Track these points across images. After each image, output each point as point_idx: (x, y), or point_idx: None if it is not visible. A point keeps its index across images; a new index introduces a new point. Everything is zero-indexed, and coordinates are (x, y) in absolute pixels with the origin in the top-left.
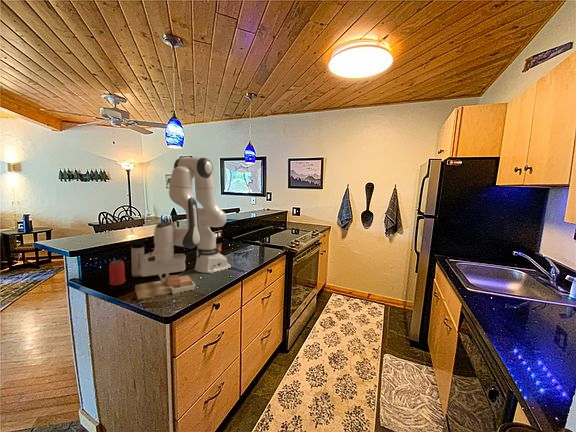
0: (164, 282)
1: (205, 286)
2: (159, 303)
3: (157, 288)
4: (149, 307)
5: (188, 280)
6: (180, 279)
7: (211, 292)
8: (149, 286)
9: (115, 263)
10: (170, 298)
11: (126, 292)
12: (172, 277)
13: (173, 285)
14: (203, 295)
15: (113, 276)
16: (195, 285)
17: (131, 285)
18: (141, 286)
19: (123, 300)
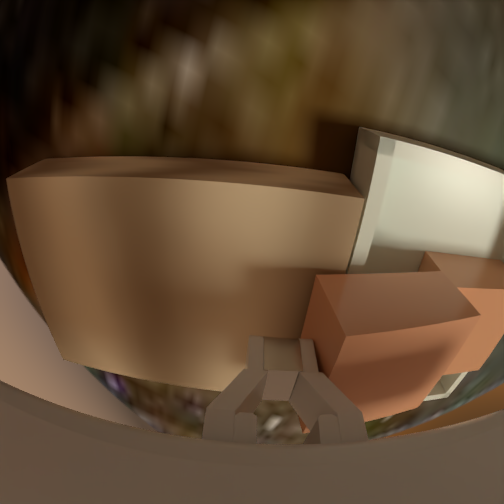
0: (307, 279)
1: (491, 353)
2: (197, 413)
3: (196, 370)
4: (151, 414)
5: (469, 361)
6: (413, 404)
7: (445, 411)
8: (128, 295)
9: None
10: (265, 403)
11: (2, 159)
12: (382, 388)
13: (387, 257)
14: (404, 423)
15: None
16: (445, 394)
17: (38, 7)
18: (57, 249)
19: (16, 283)
